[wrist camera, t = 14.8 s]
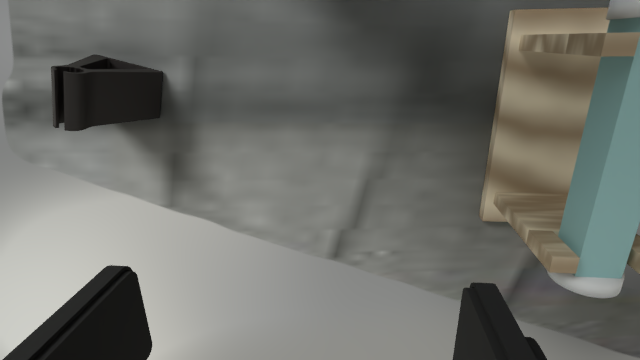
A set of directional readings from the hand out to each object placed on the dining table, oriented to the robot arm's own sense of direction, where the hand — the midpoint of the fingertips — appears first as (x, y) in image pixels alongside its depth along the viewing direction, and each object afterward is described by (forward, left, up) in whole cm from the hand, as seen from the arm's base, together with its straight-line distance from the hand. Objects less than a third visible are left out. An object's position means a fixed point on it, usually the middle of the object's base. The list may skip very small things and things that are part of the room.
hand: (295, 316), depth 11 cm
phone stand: (-2, -28, -39) cm, 48 cm away
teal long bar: (+2, +24, -28) cm, 37 cm away
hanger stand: (+2, +24, -38) cm, 45 cm away
